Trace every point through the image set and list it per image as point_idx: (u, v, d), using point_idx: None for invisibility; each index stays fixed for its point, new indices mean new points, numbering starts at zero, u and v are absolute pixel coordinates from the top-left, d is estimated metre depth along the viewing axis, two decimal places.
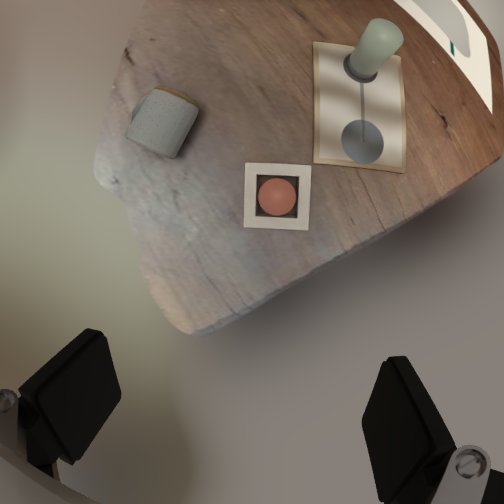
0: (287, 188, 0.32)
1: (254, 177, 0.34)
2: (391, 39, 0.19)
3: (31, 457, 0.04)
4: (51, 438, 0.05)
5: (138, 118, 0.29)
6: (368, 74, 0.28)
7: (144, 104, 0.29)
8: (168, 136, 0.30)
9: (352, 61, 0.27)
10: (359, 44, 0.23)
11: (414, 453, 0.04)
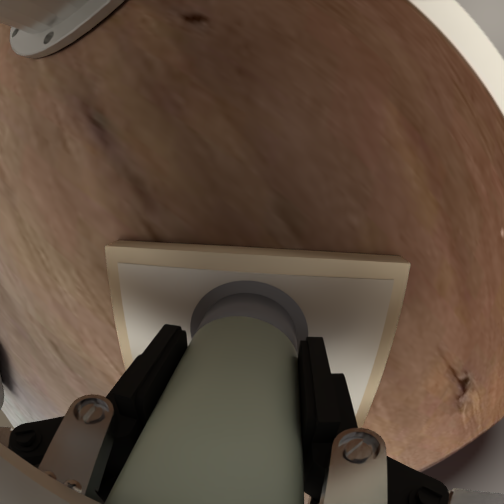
0: None
1: None
2: None
3: (109, 466, 0.05)
4: None
5: None
6: None
7: None
8: None
9: None
10: None
11: (304, 426, 0.06)
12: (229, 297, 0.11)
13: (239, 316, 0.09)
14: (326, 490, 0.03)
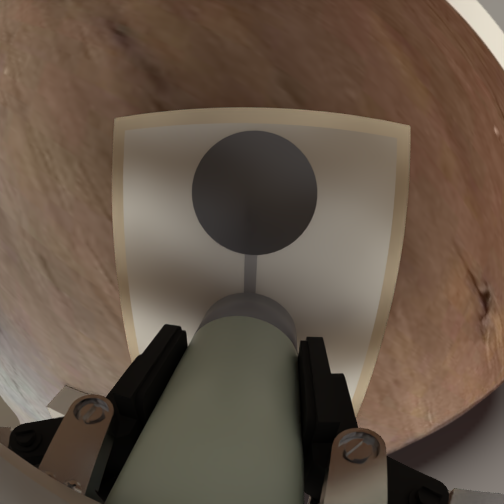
0: None
1: None
2: None
3: (109, 466, 0.05)
4: None
5: None
6: None
7: None
8: None
9: None
10: None
11: (304, 426, 0.06)
12: (229, 297, 0.11)
13: (239, 316, 0.09)
14: (326, 490, 0.03)
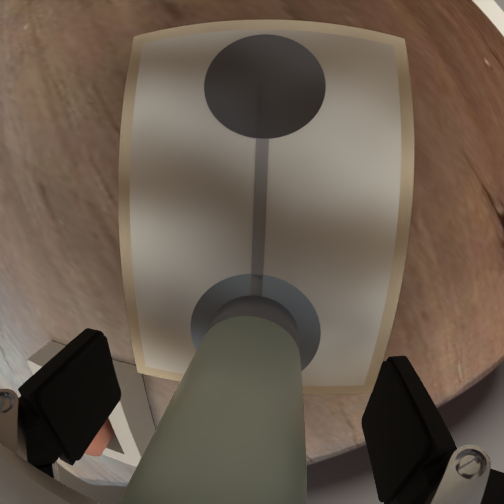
0: None
1: None
2: None
3: (31, 457, 0.04)
4: (51, 438, 0.05)
5: None
6: None
7: None
8: None
9: None
10: None
11: (414, 453, 0.04)
12: (237, 299, 0.12)
13: (247, 316, 0.10)
14: (434, 497, 0.03)
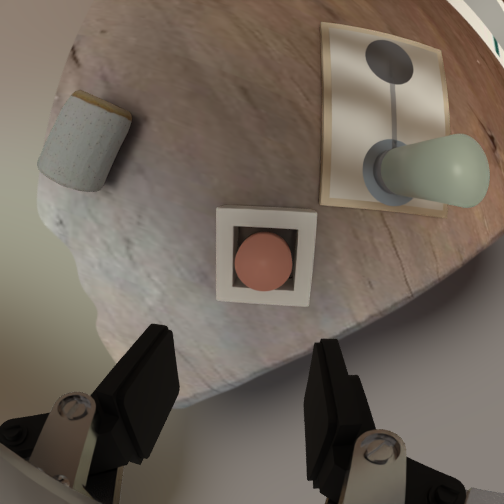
0: (279, 252, 0.21)
1: (231, 230, 0.23)
2: (471, 186, 0.11)
3: (95, 463, 0.05)
4: (124, 438, 0.06)
5: (48, 139, 0.18)
6: None
7: (57, 118, 0.18)
8: (81, 163, 0.19)
9: (385, 176, 0.19)
10: (407, 167, 0.15)
11: (324, 429, 0.05)
12: None
13: None
14: (346, 490, 0.03)
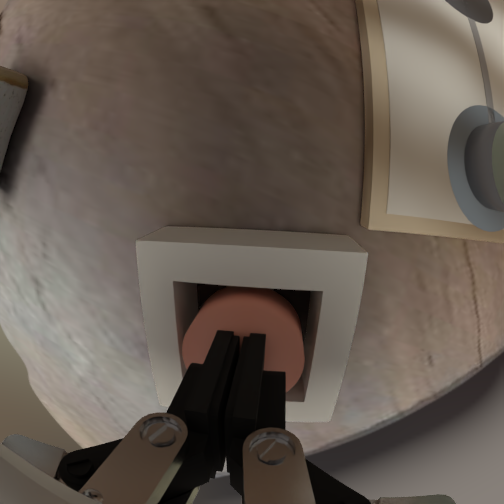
0: (277, 339, 0.09)
1: (169, 290, 0.10)
2: None
3: None
4: None
5: None
6: None
7: None
8: None
9: None
10: None
11: None
12: (485, 124, 0.08)
13: None
14: (245, 496, 0.03)
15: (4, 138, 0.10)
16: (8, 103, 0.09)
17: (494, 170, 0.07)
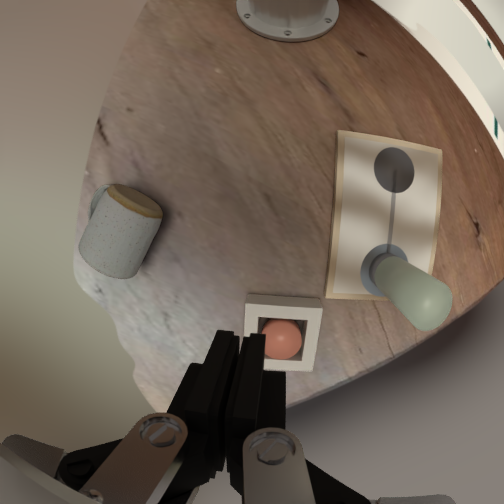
0: (293, 334, 0.29)
1: (256, 319, 0.29)
2: (434, 316, 0.18)
3: None
4: None
5: (89, 232, 0.25)
6: None
7: (95, 212, 0.25)
8: (124, 259, 0.26)
9: (377, 282, 0.26)
10: (392, 291, 0.22)
11: None
12: (382, 253, 0.28)
13: (393, 256, 0.26)
14: (245, 496, 0.03)
15: None
16: (158, 227, 0.28)
17: (374, 279, 0.27)
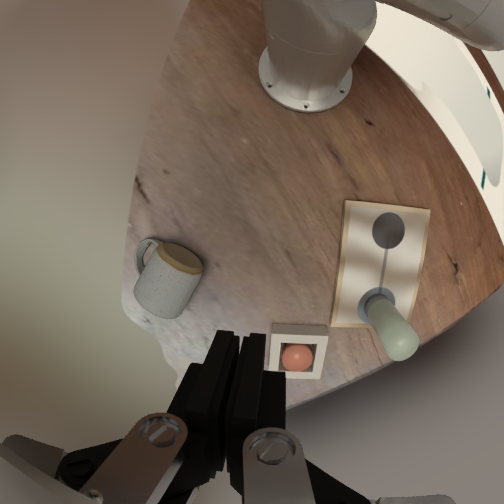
0: (306, 354, 0.38)
1: (279, 344, 0.38)
2: (405, 352, 0.27)
3: None
4: None
5: (145, 285, 0.34)
6: None
7: (149, 270, 0.34)
8: (176, 305, 0.35)
9: (369, 318, 0.35)
10: (378, 330, 0.31)
11: None
12: (374, 294, 0.37)
13: (383, 299, 0.35)
14: (245, 496, 0.03)
15: None
16: None
17: (367, 315, 0.36)
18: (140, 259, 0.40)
